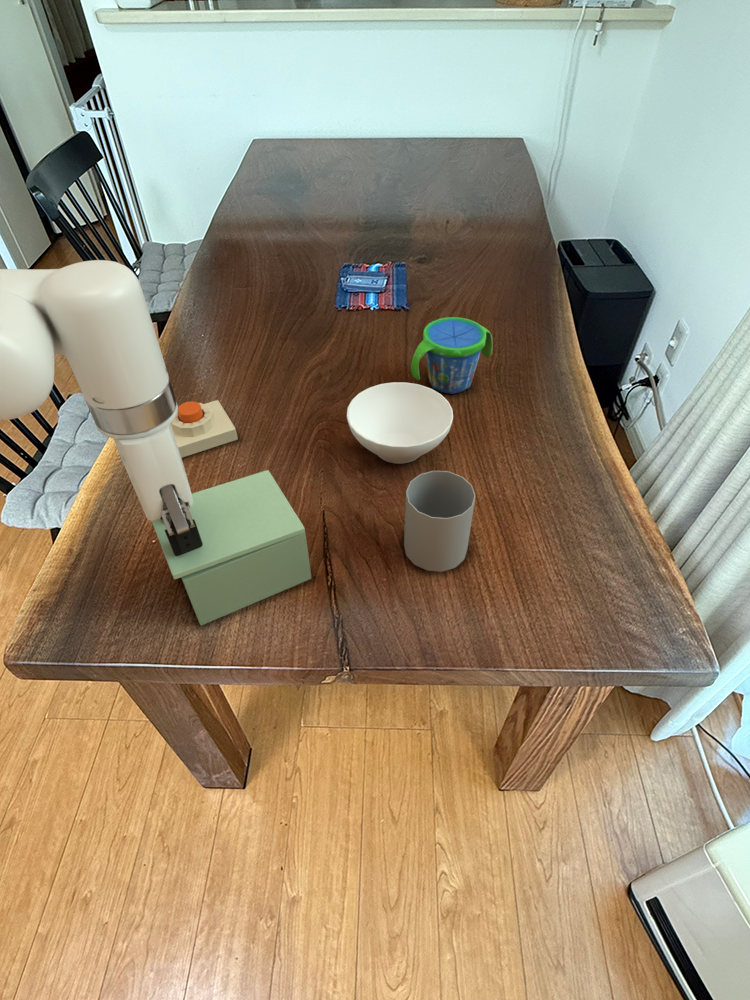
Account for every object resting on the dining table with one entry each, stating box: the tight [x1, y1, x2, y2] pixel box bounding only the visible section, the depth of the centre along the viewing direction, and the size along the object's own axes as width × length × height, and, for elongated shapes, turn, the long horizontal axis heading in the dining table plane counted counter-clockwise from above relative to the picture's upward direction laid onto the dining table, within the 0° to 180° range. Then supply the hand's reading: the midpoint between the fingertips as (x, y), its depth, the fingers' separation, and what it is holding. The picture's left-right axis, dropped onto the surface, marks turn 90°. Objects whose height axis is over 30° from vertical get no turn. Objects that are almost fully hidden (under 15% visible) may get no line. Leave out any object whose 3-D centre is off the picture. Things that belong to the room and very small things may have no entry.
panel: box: [170, 399, 239, 459], centre depth 96 cm, size 11×9×4 cm
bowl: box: [346, 381, 454, 465], centre depth 92 cm, size 16×16×7 cm
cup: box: [403, 470, 477, 573], centre depth 76 cm, size 8×8×10 cm
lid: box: [151, 469, 306, 580], centre depth 69 cm, size 15×12×6 cm
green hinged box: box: [180, 532, 312, 627], centre depth 74 cm, size 15×12×9 cm
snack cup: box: [410, 316, 494, 395], centre depth 103 cm, size 16×10×10 cm
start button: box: [178, 400, 203, 423], centre depth 94 cm, size 4×4×2 cm
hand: (180, 530), depth 68 cm, fingers open, 5 cm apart
